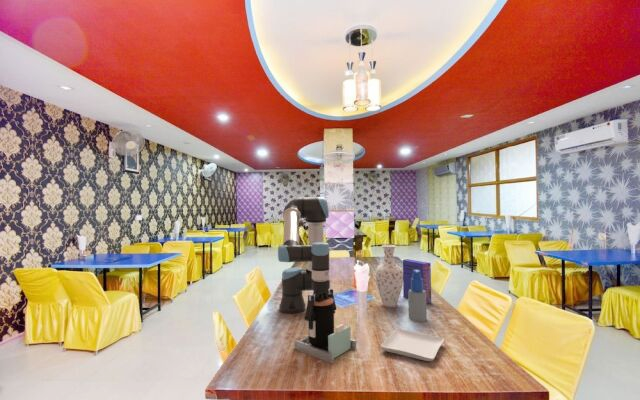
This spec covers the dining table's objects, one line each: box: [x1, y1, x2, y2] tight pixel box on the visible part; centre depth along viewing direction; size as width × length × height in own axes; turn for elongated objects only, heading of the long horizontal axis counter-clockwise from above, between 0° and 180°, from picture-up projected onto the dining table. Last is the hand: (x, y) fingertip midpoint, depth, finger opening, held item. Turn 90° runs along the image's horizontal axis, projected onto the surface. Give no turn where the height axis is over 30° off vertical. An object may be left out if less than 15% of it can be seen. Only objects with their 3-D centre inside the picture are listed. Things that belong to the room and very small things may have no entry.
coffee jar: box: [308, 297, 335, 349], centre depth 134 cm, size 11×11×18 cm
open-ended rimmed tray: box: [294, 335, 357, 365], centre depth 132 cm, size 20×16×4 cm
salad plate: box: [379, 328, 445, 362], centre depth 132 cm, size 21×21×3 cm
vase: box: [375, 244, 403, 308], centre depth 189 cm, size 16×16×35 cm
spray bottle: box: [407, 270, 428, 323], centre depth 166 cm, size 9×9×25 cm
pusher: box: [327, 323, 351, 359], centre depth 127 cm, size 1×13×11 cm, turn 139°
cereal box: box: [402, 259, 432, 305], centre depth 199 cm, size 17×5×24 cm, turn 34°
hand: (321, 332), depth 134 cm, fingers closed on coffee jar, 10 cm apart
